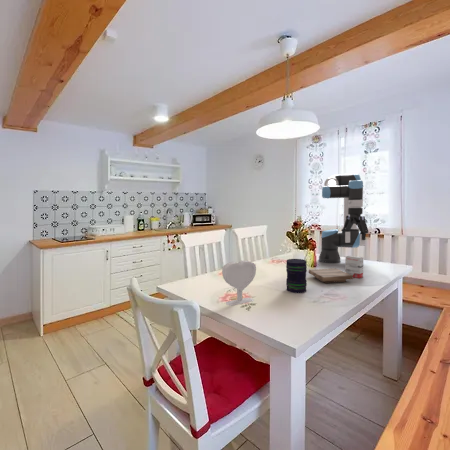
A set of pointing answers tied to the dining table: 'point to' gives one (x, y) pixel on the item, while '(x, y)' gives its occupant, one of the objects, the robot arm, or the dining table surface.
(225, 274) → the heart sculpture
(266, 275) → the dining table surface
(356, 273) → the ink box
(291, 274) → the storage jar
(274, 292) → the dining table surface
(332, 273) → the walnut stand
